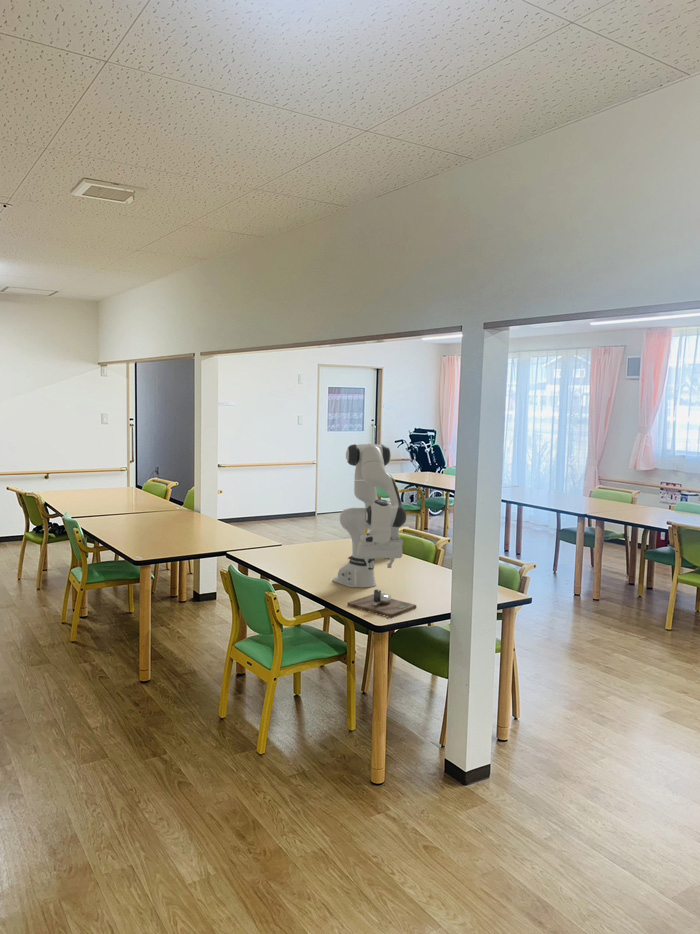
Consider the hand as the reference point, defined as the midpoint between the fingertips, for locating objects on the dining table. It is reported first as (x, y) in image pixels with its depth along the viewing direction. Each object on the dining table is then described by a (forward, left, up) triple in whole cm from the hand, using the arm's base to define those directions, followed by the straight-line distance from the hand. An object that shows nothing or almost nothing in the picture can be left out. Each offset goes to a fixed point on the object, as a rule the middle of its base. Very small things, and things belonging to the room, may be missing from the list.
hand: (379, 567), depth 304 cm
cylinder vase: (-59, +94, -19) cm, 113 cm away
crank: (-1, +4, -17) cm, 18 cm away
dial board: (-1, +6, -19) cm, 20 cm away
